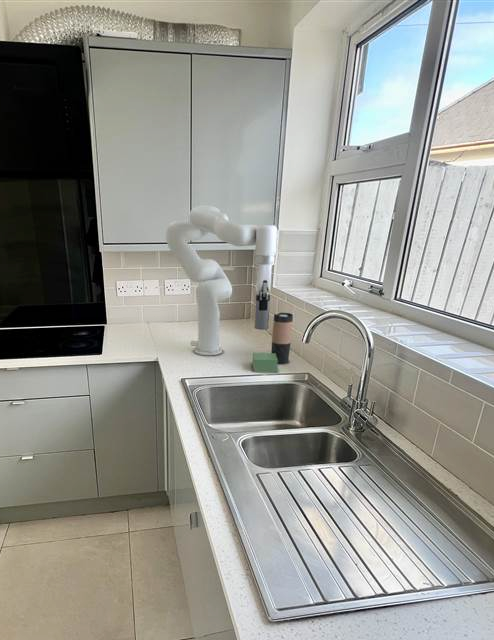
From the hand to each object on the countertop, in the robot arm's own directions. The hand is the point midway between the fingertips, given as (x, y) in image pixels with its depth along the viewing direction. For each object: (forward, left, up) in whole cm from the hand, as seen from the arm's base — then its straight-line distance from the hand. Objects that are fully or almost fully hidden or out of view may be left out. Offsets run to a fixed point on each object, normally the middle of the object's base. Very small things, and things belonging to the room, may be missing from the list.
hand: (262, 308), depth 158 cm
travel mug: (+7, +9, -24) cm, 26 cm away
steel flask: (0, 0, -8) cm, 8 cm away
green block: (+3, -2, -24) cm, 24 cm away
